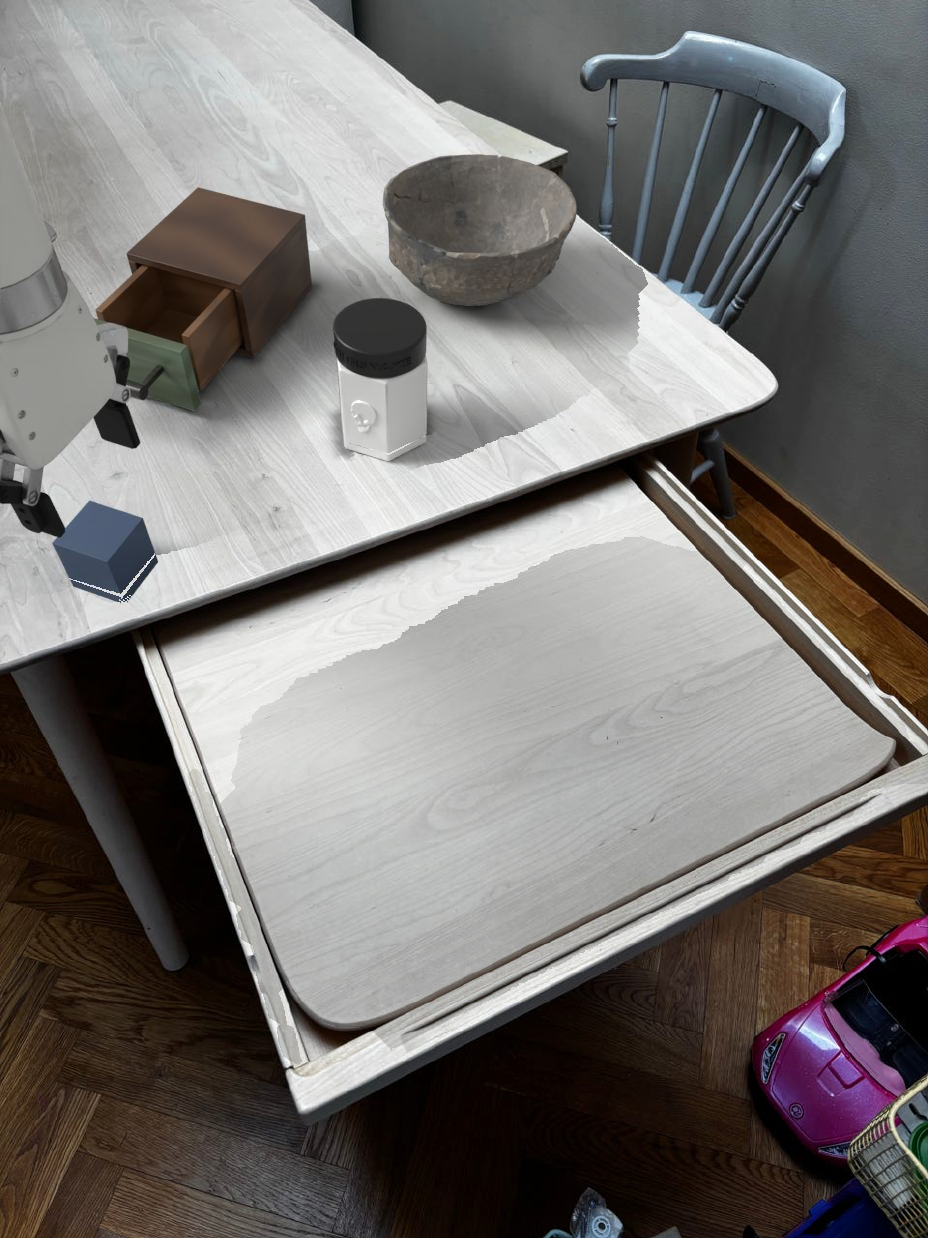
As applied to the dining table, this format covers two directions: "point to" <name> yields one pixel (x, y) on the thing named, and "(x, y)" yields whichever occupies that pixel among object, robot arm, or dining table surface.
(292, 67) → the dining table surface
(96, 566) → the block
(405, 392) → the jar
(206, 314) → the drawer
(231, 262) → the cabinet
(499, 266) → the bowl
